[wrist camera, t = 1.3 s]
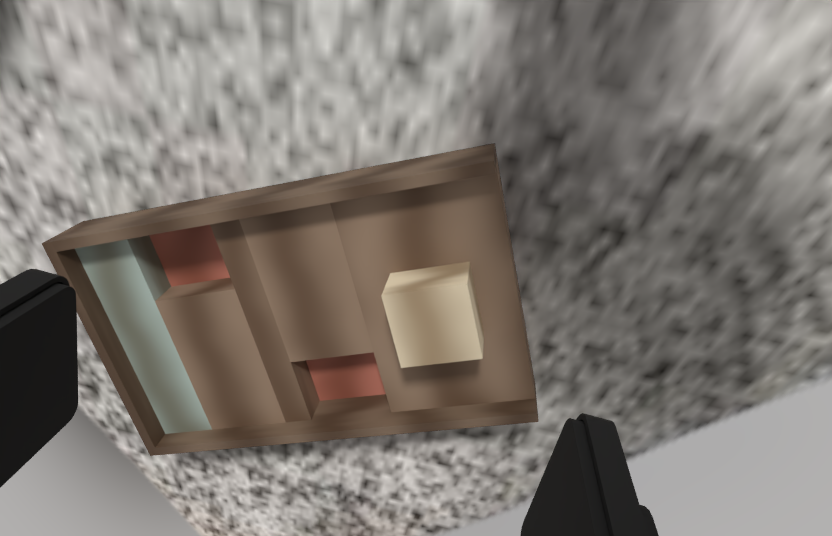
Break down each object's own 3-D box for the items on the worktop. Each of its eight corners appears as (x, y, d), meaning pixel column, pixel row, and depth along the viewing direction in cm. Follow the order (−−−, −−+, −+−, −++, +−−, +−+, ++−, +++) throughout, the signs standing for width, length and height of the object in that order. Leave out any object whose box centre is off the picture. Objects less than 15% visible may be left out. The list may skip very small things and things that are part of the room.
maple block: (469, 261, 35) (467, 283, 32) (484, 332, 37) (482, 358, 34) (390, 273, 36) (381, 295, 33) (408, 341, 38) (401, 367, 35)
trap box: (494, 143, 34) (493, 160, 31) (535, 384, 41) (538, 421, 38) (82, 221, 40) (41, 243, 37) (177, 420, 47) (150, 455, 44)
